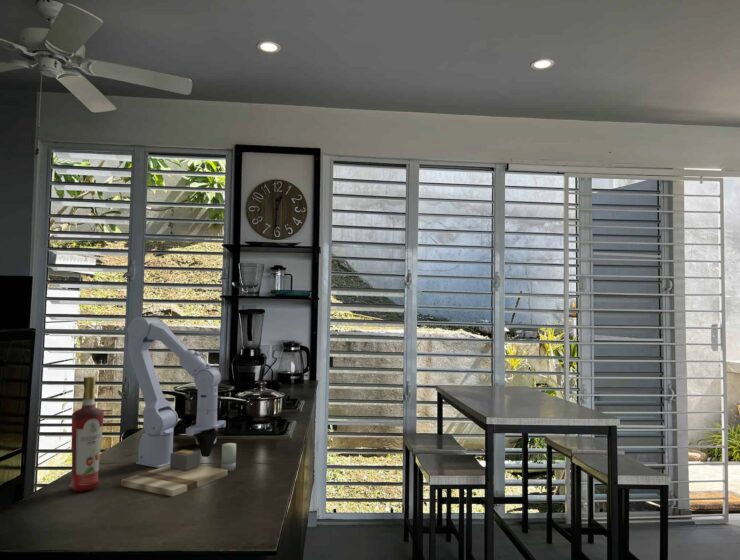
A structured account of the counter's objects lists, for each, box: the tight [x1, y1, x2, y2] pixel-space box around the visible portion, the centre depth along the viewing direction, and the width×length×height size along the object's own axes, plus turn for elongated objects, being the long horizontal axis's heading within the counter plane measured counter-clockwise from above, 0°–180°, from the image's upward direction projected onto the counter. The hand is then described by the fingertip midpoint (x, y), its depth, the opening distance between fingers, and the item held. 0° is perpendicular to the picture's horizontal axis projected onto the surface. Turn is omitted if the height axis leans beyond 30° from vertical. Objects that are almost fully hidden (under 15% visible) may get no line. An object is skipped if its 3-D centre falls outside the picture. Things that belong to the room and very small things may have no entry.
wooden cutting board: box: [120, 464, 229, 498], centre depth 145 cm, size 18×20×2 cm
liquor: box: [68, 376, 105, 493], centre depth 138 cm, size 7×7×28 cm
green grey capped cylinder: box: [220, 442, 237, 472], centre depth 156 cm, size 4×4×7 cm
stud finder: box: [170, 449, 201, 471], centre depth 151 cm, size 6×5×4 cm
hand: (205, 456), depth 159 cm, fingers closed
